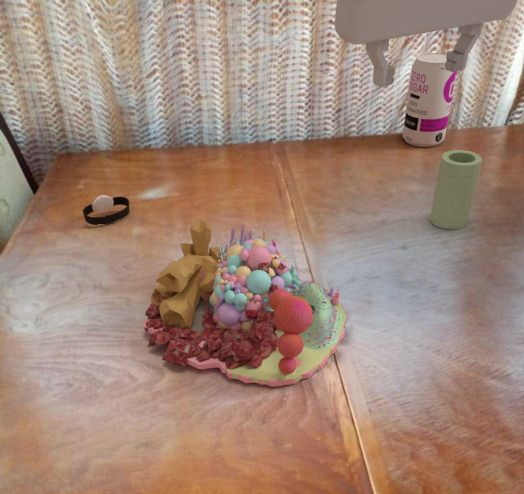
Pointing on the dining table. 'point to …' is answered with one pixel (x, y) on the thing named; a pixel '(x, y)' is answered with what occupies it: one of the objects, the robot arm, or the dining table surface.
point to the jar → (455, 188)
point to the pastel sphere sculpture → (243, 312)
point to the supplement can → (428, 100)
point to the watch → (106, 209)
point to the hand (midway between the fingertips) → (419, 77)
